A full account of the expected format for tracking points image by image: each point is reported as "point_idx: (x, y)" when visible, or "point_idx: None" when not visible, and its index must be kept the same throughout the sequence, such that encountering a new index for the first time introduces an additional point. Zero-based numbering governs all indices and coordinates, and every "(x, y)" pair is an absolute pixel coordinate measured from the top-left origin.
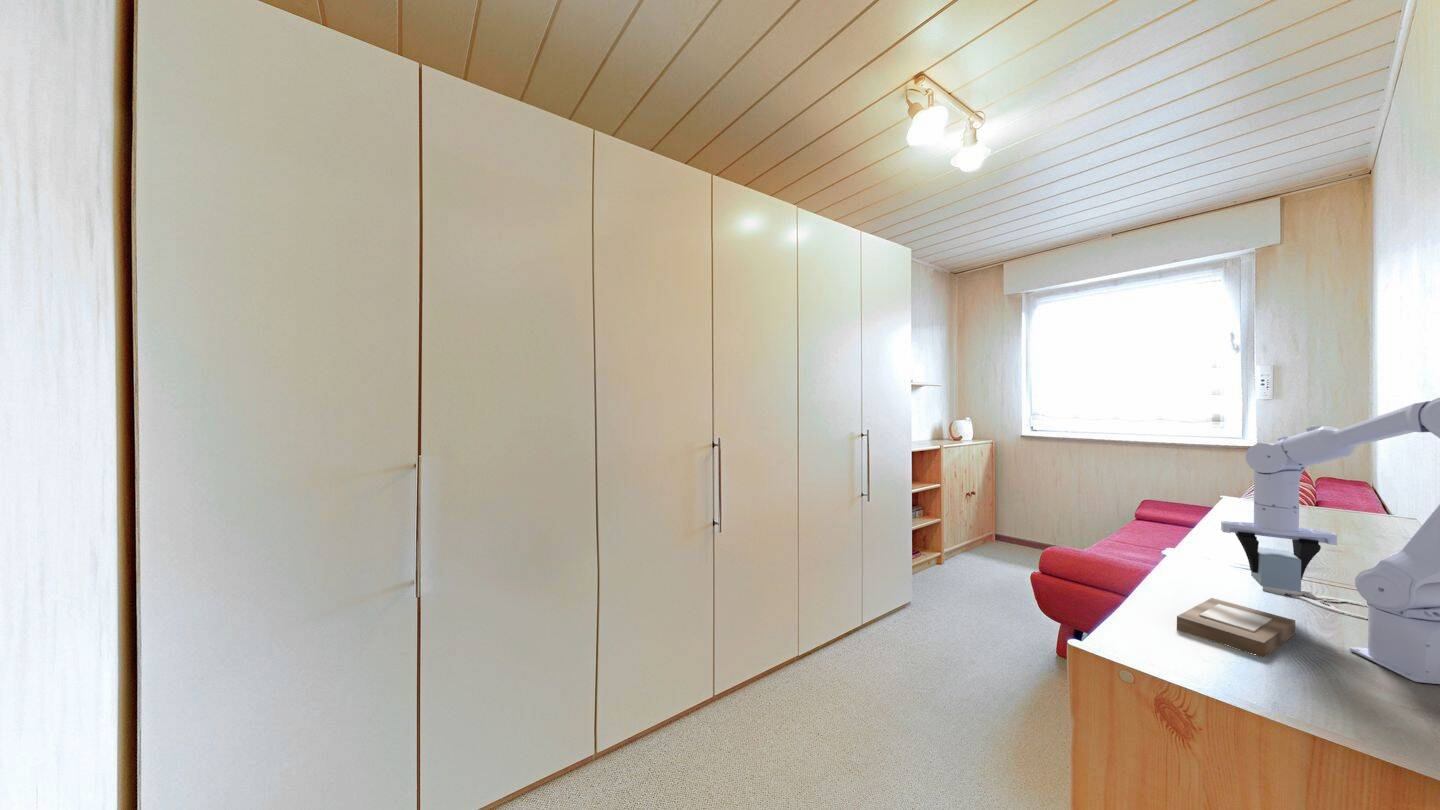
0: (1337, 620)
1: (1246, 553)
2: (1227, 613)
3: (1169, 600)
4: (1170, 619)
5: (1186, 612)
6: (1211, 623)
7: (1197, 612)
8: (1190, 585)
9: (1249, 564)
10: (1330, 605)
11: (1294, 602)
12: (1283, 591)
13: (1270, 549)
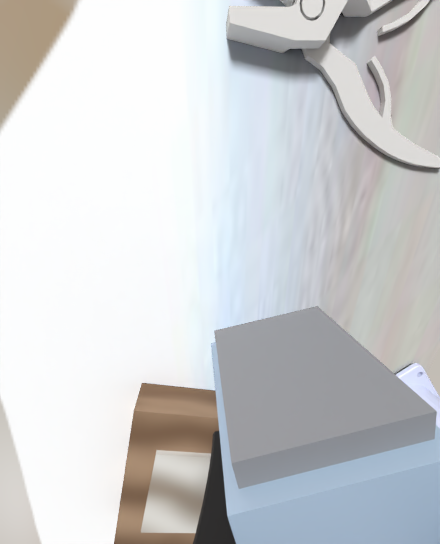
0: (363, 235)
1: (201, 537)
2: (179, 493)
3: (57, 388)
4: (99, 485)
5: (119, 528)
6: (164, 541)
7: (134, 515)
8: (42, 196)
9: (211, 456)
10: (385, 98)
11: (300, 135)
12: (286, 44)
13: (347, 511)
